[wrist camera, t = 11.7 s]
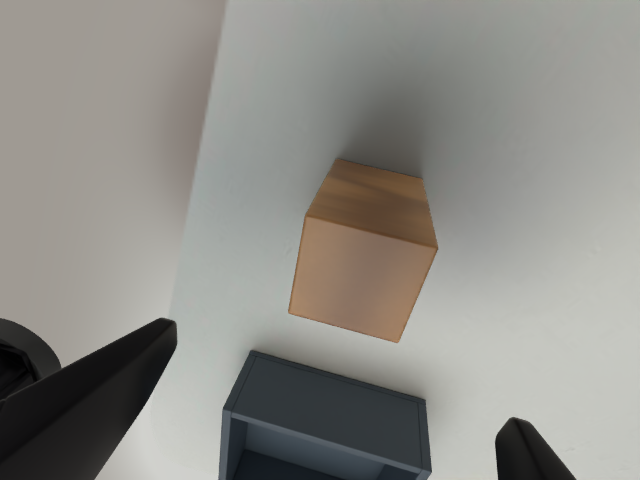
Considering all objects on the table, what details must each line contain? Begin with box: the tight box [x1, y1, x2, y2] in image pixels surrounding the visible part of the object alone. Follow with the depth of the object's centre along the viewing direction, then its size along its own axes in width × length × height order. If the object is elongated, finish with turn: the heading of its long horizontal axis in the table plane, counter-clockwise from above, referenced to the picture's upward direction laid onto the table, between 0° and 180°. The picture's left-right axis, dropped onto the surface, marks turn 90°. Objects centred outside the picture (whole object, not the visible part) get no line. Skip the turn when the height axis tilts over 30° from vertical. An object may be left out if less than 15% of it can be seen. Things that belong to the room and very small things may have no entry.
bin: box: [218, 351, 432, 480], centre depth 26 cm, size 13×13×5 cm
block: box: [288, 159, 438, 343], centre depth 15 cm, size 4×4×7 cm
